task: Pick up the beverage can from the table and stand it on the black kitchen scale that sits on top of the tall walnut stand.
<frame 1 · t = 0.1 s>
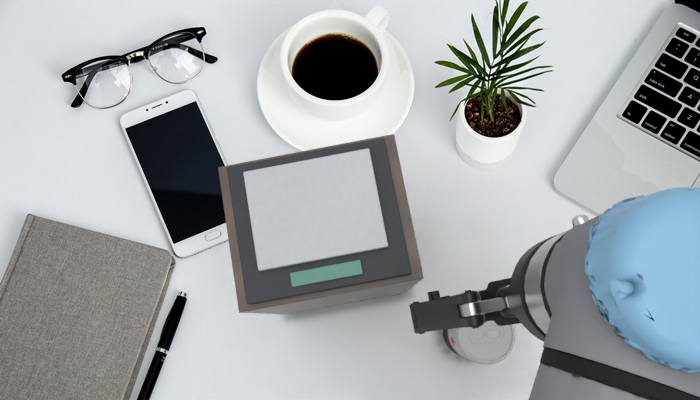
hand: (509, 299, 60), 24 cm above the table, tool pointing down, fingers open, 13 cm apart
stand: (339, 256, 85), on the table
beverage can: (466, 331, 82), on the table
scale: (318, 221, 53), resting on stand
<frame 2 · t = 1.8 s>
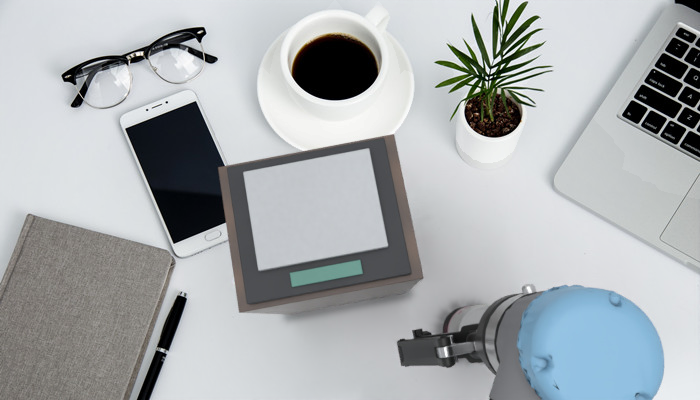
hand: (485, 332, 69), 14 cm above the table, tool pointing down, fingers open, 13 cm apart
nothing on the table moved.
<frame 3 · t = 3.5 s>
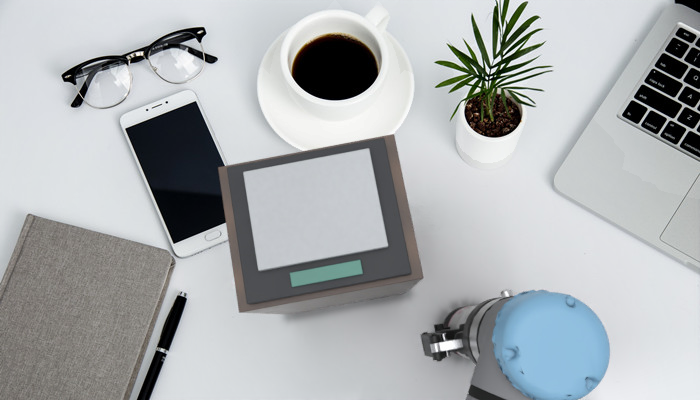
hand: (471, 332, 78), 4 cm above the table, tool pointing down, fingers closed on beverage can, 6 cm apart
beverage can: (466, 331, 82), on the table, touching gripper
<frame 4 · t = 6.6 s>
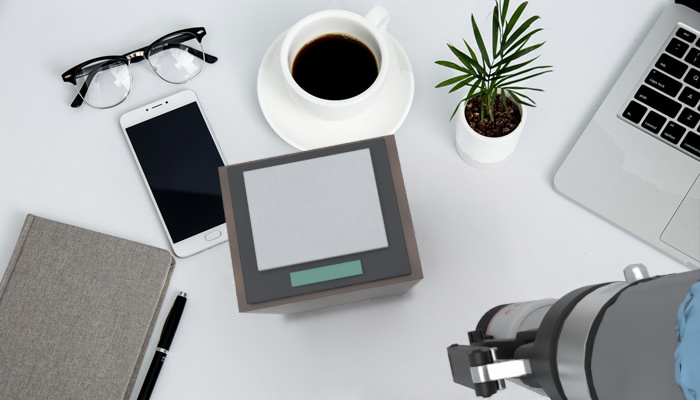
hand: (520, 342, 51), 31 cm above the table, tool pointing down, fingers closed on beverage can, 6 cm apart
beverage can: (509, 340, 56), point 27 cm above the table, touching gripper
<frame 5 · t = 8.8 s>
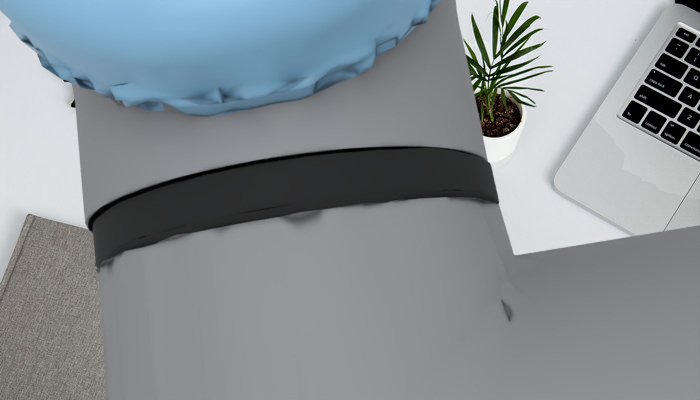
hand: (343, 220, 45), 40 cm above the table, tool pointing down, fingers closed on beverage can, 6 cm apart
beverage can: (345, 228, 49), point 36 cm above the table, touching gripper
when the fingers open (38 cm above the table, at t = 10.0 s): beverage can stays where it is, resting on scale.
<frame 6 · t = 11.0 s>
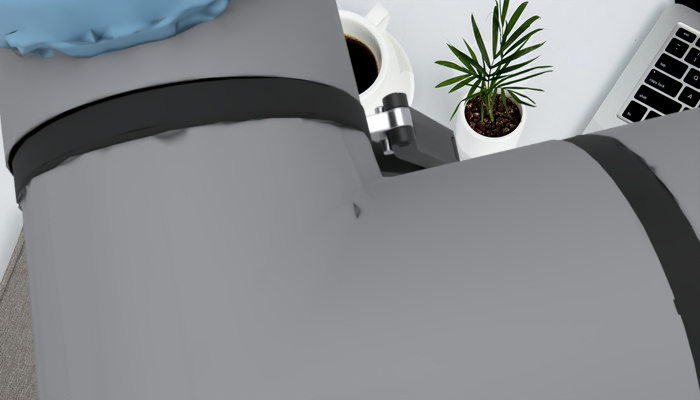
hand: (307, 205, 45), 41 cm above the table, tool pointing down, fingers open, 13 cm apart
beverage can: (316, 216, 52), point 34 cm above the table, touching scale
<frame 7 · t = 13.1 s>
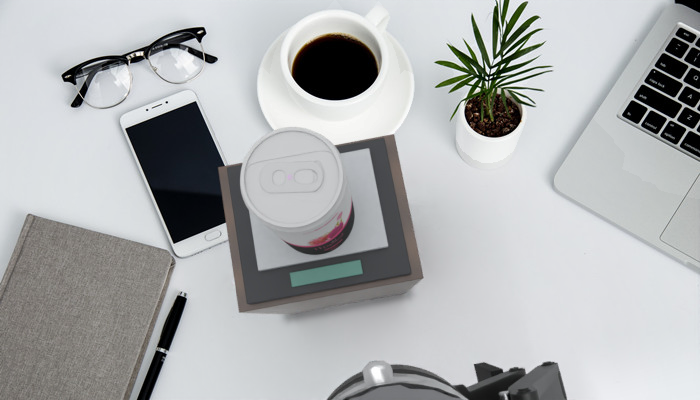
nothing on the table moved.
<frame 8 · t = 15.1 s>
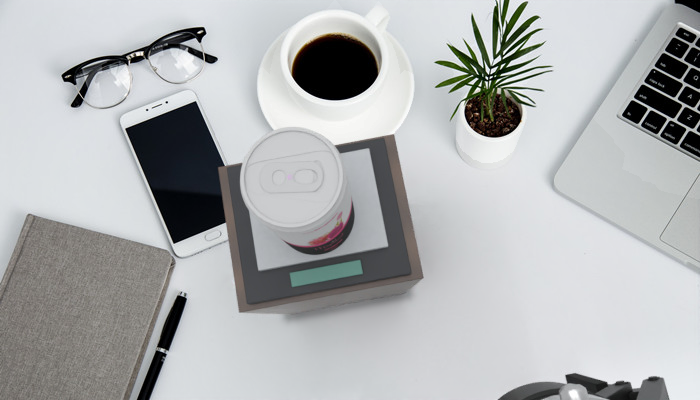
nothing on the table moved.
at the end: beverage can inside the target area on the scale (0.1 cm from its centre), point 1.8 cm above the scale's base; beverage can tilted 0° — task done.
